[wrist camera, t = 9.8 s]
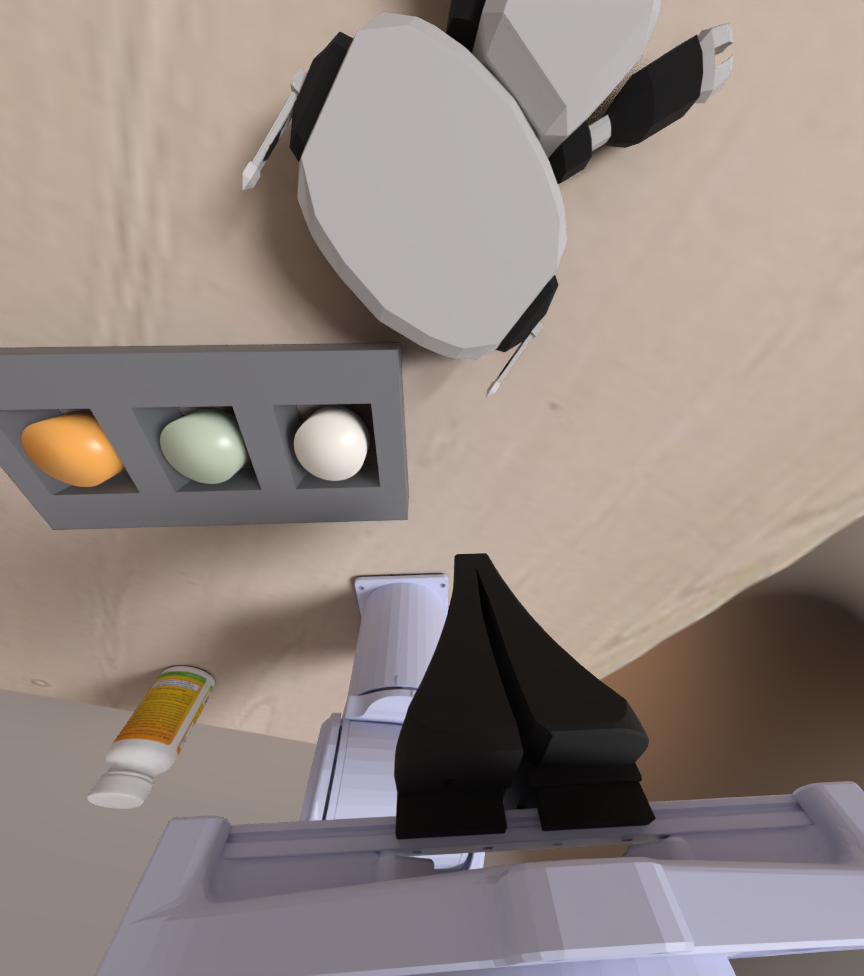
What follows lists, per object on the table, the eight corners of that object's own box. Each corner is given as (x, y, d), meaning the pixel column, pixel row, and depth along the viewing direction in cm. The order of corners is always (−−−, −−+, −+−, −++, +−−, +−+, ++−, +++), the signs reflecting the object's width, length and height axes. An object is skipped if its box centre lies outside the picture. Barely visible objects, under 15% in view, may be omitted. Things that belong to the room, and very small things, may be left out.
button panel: (408, 494, 22) (407, 519, 20) (96, 502, 22) (53, 529, 19) (400, 342, 17) (397, 349, 14) (-11, 348, 16) (-91, 356, 14)
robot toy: (490, -257, 9) (272, 228, 14) (555, -690, 5) (221, 190, 10) (687, 116, 14) (468, 393, 18) (806, 29, 10) (486, 411, 14)
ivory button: (373, 464, 19) (368, 480, 18) (312, 465, 19) (302, 481, 18) (366, 405, 17) (360, 416, 16) (299, 406, 17) (285, 417, 16)
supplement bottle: (151, 667, 32) (58, 794, 24) (200, 661, 32) (124, 787, 24) (180, 692, 35) (105, 814, 27) (225, 687, 35) (164, 808, 26)
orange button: (148, 469, 19) (121, 486, 17) (85, 471, 19) (52, 488, 17) (114, 409, 17) (80, 421, 15) (44, 411, 17) (3, 422, 15)
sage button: (261, 467, 19) (246, 483, 18) (200, 468, 19) (179, 484, 17) (241, 407, 17) (222, 418, 16) (173, 408, 17) (146, 420, 15)
